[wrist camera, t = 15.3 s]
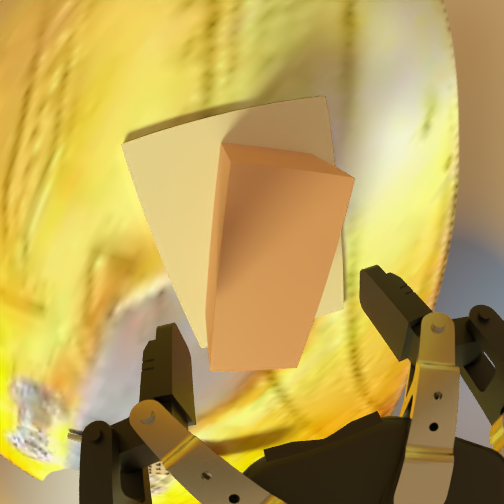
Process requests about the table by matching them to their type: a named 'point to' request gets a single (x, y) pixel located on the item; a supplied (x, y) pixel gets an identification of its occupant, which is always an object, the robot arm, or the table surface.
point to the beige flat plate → (204, 184)
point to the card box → (270, 254)
